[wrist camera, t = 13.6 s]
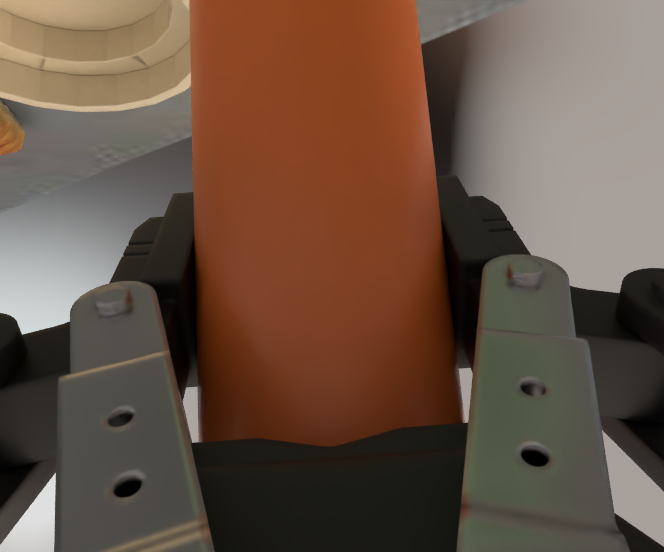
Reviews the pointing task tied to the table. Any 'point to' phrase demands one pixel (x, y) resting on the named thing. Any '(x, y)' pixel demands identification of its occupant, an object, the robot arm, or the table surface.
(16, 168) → the table surface
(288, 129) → the cracker tube
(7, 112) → the pastry
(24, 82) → the oatmeal bowl
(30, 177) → the table surface
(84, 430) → the robot arm
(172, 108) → the table surface
